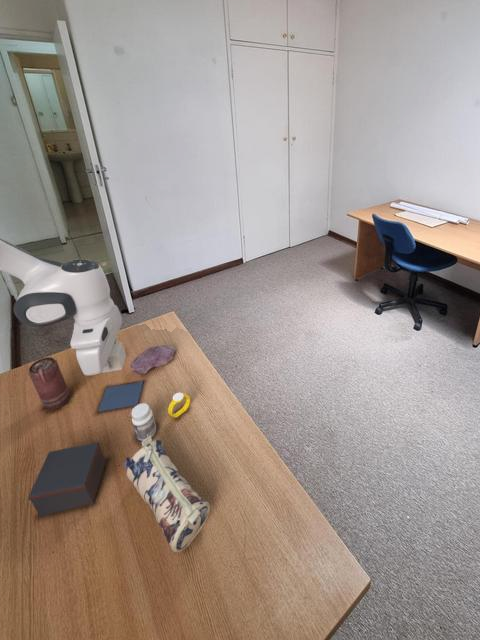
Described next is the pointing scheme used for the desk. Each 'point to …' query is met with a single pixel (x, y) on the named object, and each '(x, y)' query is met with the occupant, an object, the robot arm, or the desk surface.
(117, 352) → the small box
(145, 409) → the pill bottle
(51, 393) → the can
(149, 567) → the desk surface
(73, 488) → the storage box
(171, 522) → the pencil case
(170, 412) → the watch
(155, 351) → the fossil
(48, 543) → the desk surface
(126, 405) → the mat
